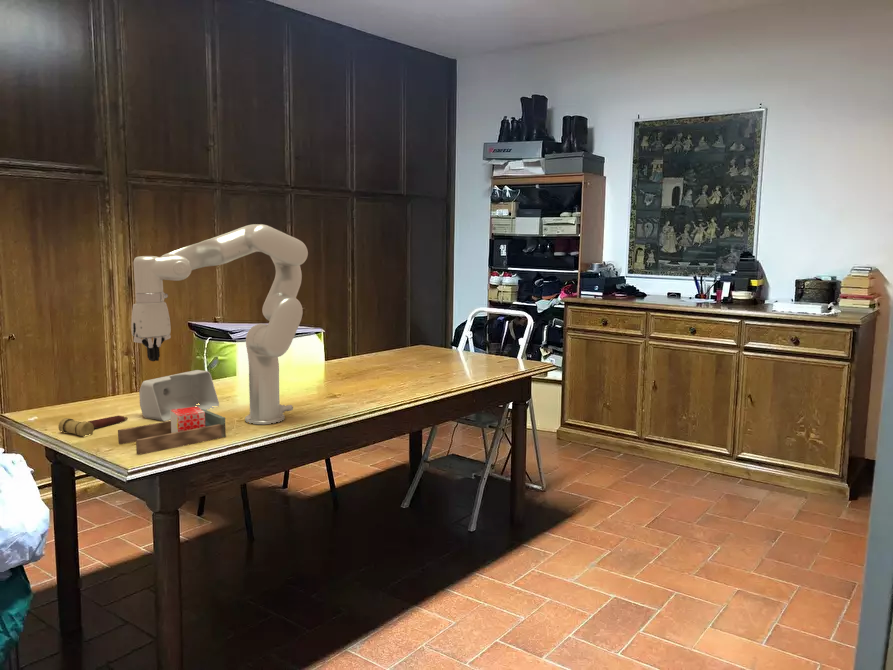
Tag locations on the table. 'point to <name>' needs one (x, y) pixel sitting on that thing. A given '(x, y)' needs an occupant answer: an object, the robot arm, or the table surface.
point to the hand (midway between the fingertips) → (153, 360)
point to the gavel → (87, 425)
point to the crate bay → (172, 434)
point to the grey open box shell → (177, 394)
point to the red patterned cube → (187, 419)
